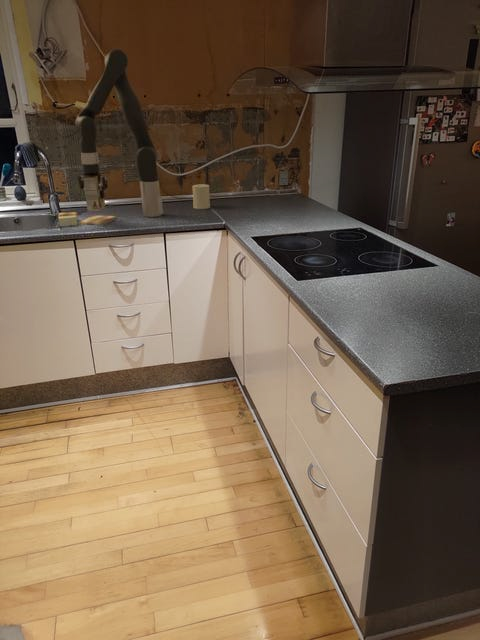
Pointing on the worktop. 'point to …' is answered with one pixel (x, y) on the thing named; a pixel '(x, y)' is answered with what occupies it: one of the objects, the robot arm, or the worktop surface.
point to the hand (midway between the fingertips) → (95, 198)
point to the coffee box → (93, 193)
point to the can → (201, 196)
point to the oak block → (68, 214)
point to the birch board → (98, 220)
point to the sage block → (67, 220)
